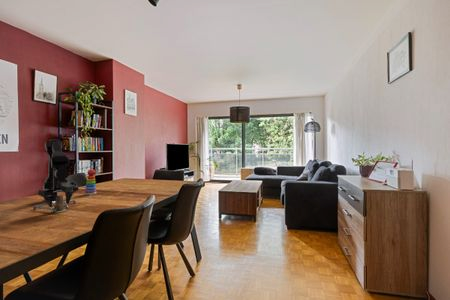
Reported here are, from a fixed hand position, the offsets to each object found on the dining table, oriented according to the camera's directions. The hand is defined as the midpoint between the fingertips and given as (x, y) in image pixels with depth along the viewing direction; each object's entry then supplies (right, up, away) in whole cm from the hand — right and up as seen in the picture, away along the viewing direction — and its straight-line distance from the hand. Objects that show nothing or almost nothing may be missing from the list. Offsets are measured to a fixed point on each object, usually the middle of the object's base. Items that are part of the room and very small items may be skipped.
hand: (59, 205), depth 132 cm
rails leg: (-7, -3, +3) cm, 8 cm away
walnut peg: (0, -3, 0) cm, 3 cm away
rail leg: (-9, -3, +10) cm, 14 cm away
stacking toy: (-8, -2, +45) cm, 46 cm away
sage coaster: (0, -3, 0) cm, 3 cm away
